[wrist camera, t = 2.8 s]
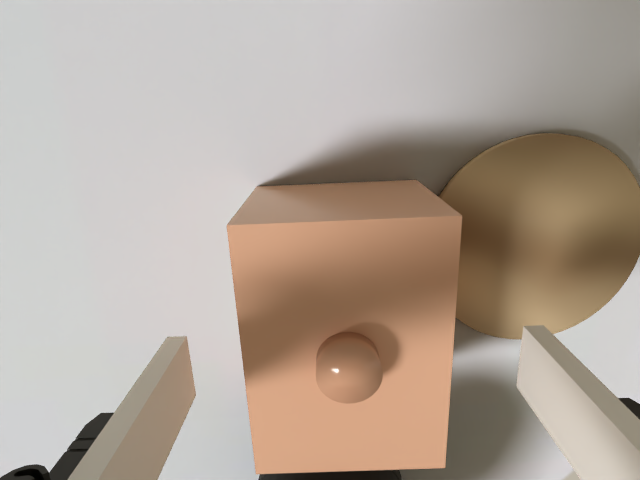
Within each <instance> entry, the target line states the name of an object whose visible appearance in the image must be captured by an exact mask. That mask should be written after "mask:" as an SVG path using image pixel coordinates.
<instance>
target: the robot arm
mask: <svg viewBox="0 0 640 480" xmlns="http://www.w3.org/2000/svg"><path fill="white" fill-rule="evenodd" d="M516 387H517V388H518V390H519V391H520V392H521V394H522V395H523V397H524V398H525V400H526V401H527V403H528V404H529V405H530V407H531V408H532V410H533V411H534V413H535V414H536V416H537V417H538V418H539V420H540V421H541V423H542V424H543V426H544V427H545V429H546V430H547V431H548V433H549V434H550V436H551V437H552V439H553V440H554V442H555V443H556V444H557V446H558V447H559V449H560V450H561V452H562V453H563V455H564V456H565V457H566V459H567V460H568V462H569V463H570V465H571V466H572V468H573V469H574V470H575V472H576V473H577V475H578V476H579V477H580V479H581V480H640V404H639V403H637V402H635V401H633V400H632V399H630V398H617V397H616V396H615V395H614V394H613V393H612V392H611V391H610V390H609V389H608V388H607V387H606V386H605V385H604V384H603V383H602V382H601V381H600V380H599V379H598V378H597V377H596V376H595V375H594V374H593V373H592V372H591V371H590V370H589V369H588V368H586V367H585V366H584V365H583V364H582V363H581V362H580V361H579V360H578V359H577V358H576V357H575V356H574V355H573V354H572V353H571V352H570V351H569V350H568V349H567V348H566V347H565V346H564V345H563V344H562V343H561V342H560V341H559V340H558V339H557V338H556V337H555V336H554V335H553V334H552V333H551V332H550V331H549V330H548V329H547V328H546V327H545V326H544V325H536V326H523V334H522V342H521V351H520V359H519V368H518V376H517V385H516ZM195 396H196V393H195V386H194V380H193V374H192V367H191V361H190V355H189V348H188V342H187V336H183V337H167V338H166V340H165V341H164V343H163V344H162V345H161V347H160V348H159V350H158V351H157V353H156V354H155V355H154V357H153V358H152V360H151V361H150V363H149V364H148V365H147V367H146V368H145V370H144V371H143V372H142V374H141V375H140V377H139V378H138V380H137V381H136V382H135V384H134V385H133V387H132V388H131V390H130V391H129V392H128V394H127V395H126V397H125V398H124V400H123V401H122V402H121V404H120V405H119V407H118V408H117V410H116V411H115V412H114V413H100V414H99V415H98V416H97V417H95V418H94V419H93V420H91V421H90V422H89V423H88V424H86V425H85V427H84V428H83V429H82V431H81V432H80V433H79V434H78V436H77V437H76V440H75V441H73V442H72V444H71V445H70V446H69V448H68V449H67V452H65V453H64V454H63V455H62V457H61V458H60V459H59V461H58V462H57V463H56V465H55V466H54V467H53V469H52V470H51V471H50V472H48V471H47V469H46V468H45V466H41V465H37V464H36V465H27V466H23V467H21V468H18V469H15V470H13V471H11V472H9V473H7V474H6V475H4V476H2V477H1V478H0V480H157V479H158V477H159V475H160V473H161V471H162V468H163V466H164V464H165V462H166V460H167V457H168V455H169V453H170V451H171V449H172V446H173V444H174V442H175V440H176V438H177V435H178V433H179V431H180V429H181V427H182V425H183V422H184V420H185V418H186V416H187V414H188V411H189V409H190V407H191V405H192V403H193V400H194V398H195Z"/></svg>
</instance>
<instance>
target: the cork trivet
mask: <svg viewBox="0 0 640 480" xmlns="http://www.w3.org/2000/svg"><path fill="white" fill-rule="evenodd" d="M439 198H440V199H442V200H443V201H444V202H445V203H447V204H448V205H449V206H451V207H452V208H453V209H454V210H456V211H457V212H458V213H460V214H461V215H462V227H461V242H460V257H459V272H458V286H457V301H456V316H455V317H456V318H457V319H458V320H460V321H461V322H462V323H464V324H465V325H467V326H469V327H471V328H472V329H474V330H477V331H479V332H482V333H484V334H487V335H491V336H495V337H500V338H507V339H522V334H523V326H536V325H544V326H545V327H546V328H547V329H548V330H549V331H550V332H551V333H552V334H555V333H558V332H561V331H564V330H566V329H568V328H570V327H573V326H575V325H577V324H579V323H580V322H582V321H584V320H586V319H587V318H589V317H590V316H592V315H593V314H594V313H596V312H597V311H599V310H600V309H601V308H602V307H603V306H604V305H605V304H607V303H608V302H609V301H610V300H611V299H612V298H613V297H614V295H615V294H616V293H617V292H618V291H619V290H620V288H621V287H622V286H623V284H624V283H625V282H626V280H627V279H628V277H629V275H630V274H631V272H632V270H633V268H634V267H635V264H636V262H637V260H638V257H639V255H640V187H639V185H638V183H637V181H636V179H635V177H634V175H633V174H632V173H631V171H630V170H629V168H628V167H627V166H626V164H625V163H624V162H623V161H622V160H621V159H620V158H619V157H618V156H617V155H615V154H614V153H612V152H611V151H610V150H608V149H607V148H605V147H603V146H601V145H599V144H597V143H595V142H593V141H590V140H587V139H584V138H581V137H577V136H571V135H565V134H554V133H540V134H531V135H525V136H521V137H516V138H512V139H510V140H507V141H504V142H502V143H499V144H497V145H495V146H493V147H491V148H489V149H487V150H485V151H483V152H482V153H480V154H479V155H478V156H476V157H475V158H473V159H472V160H470V161H469V162H468V163H467V164H466V165H465V166H463V167H462V168H461V169H460V170H459V171H458V172H457V173H456V174H455V175H454V177H453V178H452V179H451V180H450V181H449V182H448V184H447V185H446V186H445V188H444V189H443V191H442V192H441V193H440V195H439Z"/></svg>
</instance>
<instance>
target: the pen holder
mask: <svg viewBox="0 0 640 480" xmlns="http://www.w3.org/2000/svg"><path fill="white" fill-rule="evenodd" d="M259 480H402V479H401V475H400V472H399V470H369V471H338V472H308V473H277V474H260V476H259Z"/></svg>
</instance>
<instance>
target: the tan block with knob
mask: <svg viewBox="0 0 640 480" xmlns="http://www.w3.org/2000/svg"><path fill="white" fill-rule="evenodd" d="M461 227H462V215H461V214H460V213H458V212H457V211H456V210H454V209H453V208H452V207H451V206H449V205H448V204H447V203H445V202H444V201H443V200H442V199H440V198H439V197H438V196H437V195H435V194H434V193H433V192H431V191H430V190H429V189H428V188H426V187H425V186H424V185H422V184H421V183H420V182H419V181H417V180H397V181H374V182H350V183H326V184H303V185H279V186H257V187H256V188H255V189H254V191H253V192H252V193H251V195H250V196H249V197H248V198H247V200H246V201H245V202H244V204H243V205H242V206H241V207H240V209H239V210H238V211H237V213H236V214H235V215H234V216H233V218H232V219H231V220H230V222H229V223H228V224H227V232H228V241H229V249H230V258H231V266H232V275H233V283H234V292H235V300H236V309H237V317H238V325H239V334H240V342H241V351H242V359H243V368H244V376H245V385H246V393H247V402H248V410H249V419H250V427H251V435H252V444H253V452H254V461H255V469H256V474H277V473H308V472H338V471H369V470H400V469H431V468H445V464H446V449H447V434H448V419H449V405H450V390H451V375H452V360H453V346H454V331H455V316H456V301H457V286H458V272H459V257H460V242H461Z"/></svg>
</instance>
